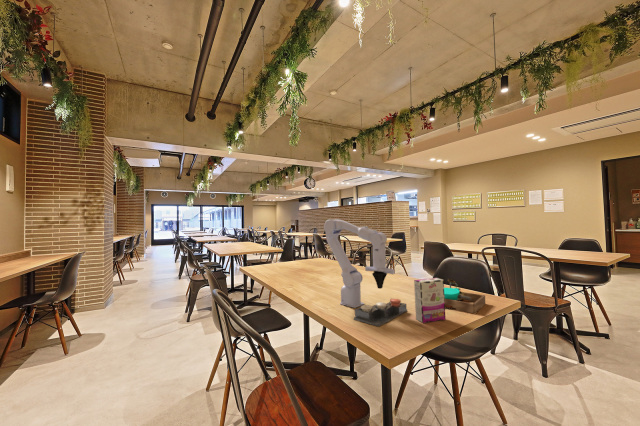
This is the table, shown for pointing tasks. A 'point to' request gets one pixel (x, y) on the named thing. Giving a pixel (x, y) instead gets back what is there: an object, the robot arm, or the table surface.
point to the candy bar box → (429, 300)
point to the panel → (379, 314)
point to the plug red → (395, 302)
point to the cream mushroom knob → (366, 308)
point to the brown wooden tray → (466, 306)
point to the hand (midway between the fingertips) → (380, 288)
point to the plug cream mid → (381, 305)
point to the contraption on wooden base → (454, 294)
